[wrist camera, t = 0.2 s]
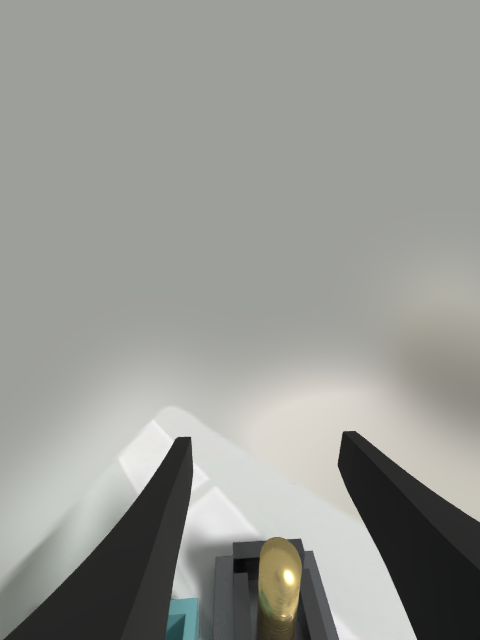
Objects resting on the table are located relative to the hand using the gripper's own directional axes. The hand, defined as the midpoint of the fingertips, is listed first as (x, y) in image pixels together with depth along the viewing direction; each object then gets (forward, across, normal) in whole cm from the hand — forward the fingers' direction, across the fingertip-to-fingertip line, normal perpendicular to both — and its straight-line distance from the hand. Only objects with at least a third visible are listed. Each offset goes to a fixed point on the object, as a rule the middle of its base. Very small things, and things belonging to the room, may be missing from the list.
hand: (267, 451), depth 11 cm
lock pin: (+2, -2, +20) cm, 21 cm away
